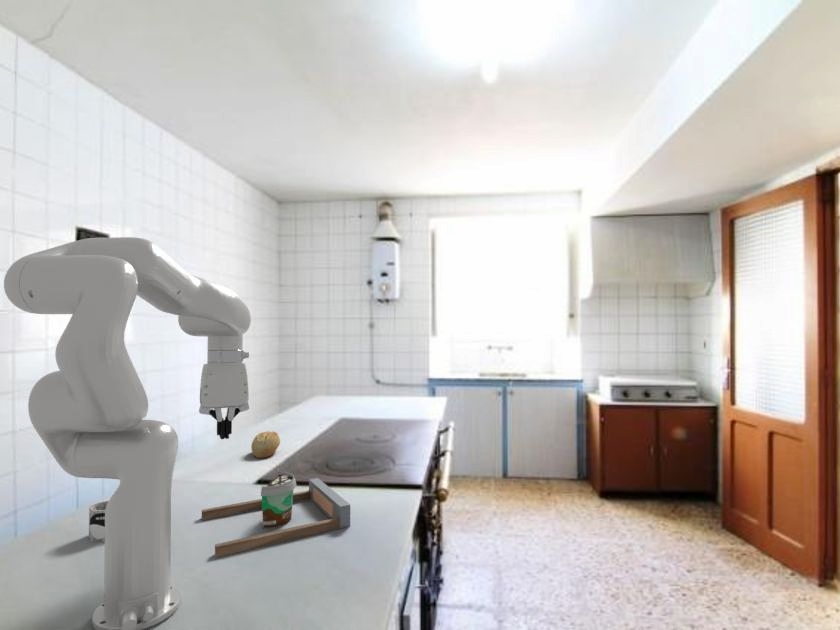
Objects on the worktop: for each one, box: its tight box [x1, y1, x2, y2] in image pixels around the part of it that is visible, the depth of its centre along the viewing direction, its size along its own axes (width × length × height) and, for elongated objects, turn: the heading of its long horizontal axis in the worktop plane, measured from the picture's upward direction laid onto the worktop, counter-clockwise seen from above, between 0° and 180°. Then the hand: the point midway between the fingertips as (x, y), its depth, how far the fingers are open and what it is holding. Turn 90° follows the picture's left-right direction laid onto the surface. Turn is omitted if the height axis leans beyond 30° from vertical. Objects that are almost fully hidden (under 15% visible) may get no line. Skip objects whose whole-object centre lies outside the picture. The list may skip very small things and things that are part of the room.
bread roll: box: [251, 430, 281, 459], centre depth 178 cm, size 10×15×8 cm, turn 7°
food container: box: [260, 471, 297, 529], centre depth 118 cm, size 12×6×10 cm, turn 177°
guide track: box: [201, 489, 341, 558], centre depth 116 cm, size 23×27×2 cm
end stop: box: [308, 477, 351, 529], centre depth 124 cm, size 23×3×5 cm, turn 31°
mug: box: [88, 500, 109, 542], centre depth 110 cm, size 10×7×7 cm
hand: (224, 437), depth 111 cm, fingers closed
